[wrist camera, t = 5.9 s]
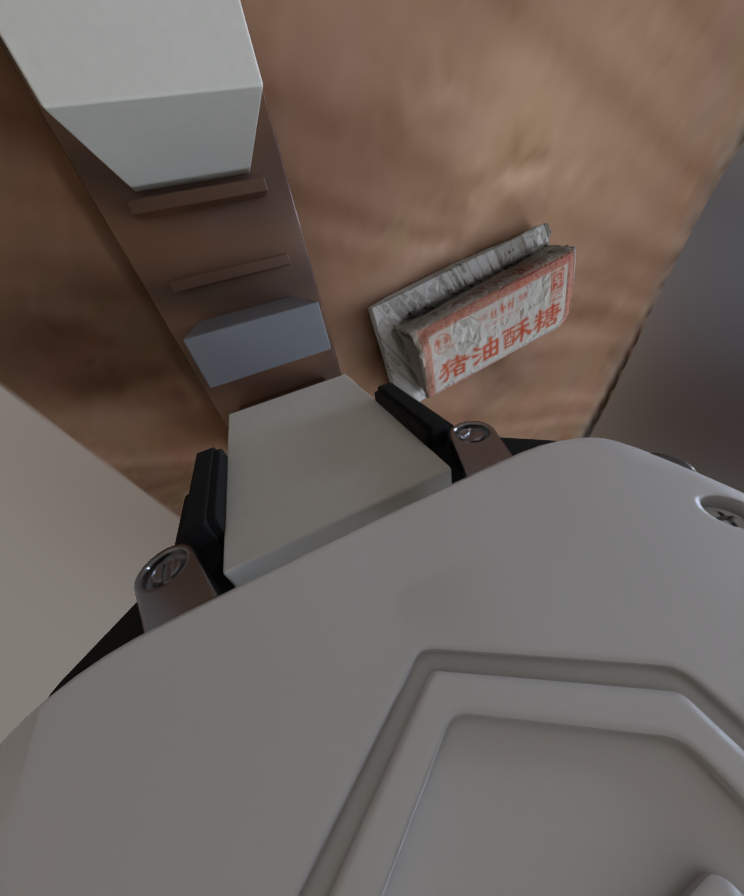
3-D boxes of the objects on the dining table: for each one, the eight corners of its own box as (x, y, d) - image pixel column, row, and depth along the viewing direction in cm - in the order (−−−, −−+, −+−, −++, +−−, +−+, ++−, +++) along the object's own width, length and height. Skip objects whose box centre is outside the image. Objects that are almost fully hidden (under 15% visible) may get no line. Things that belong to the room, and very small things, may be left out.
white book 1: (106, 137, 13) (-36, -25, 6) (233, 121, 15) (232, -28, 8) (135, 192, 15) (41, 108, 7) (250, 173, 16) (264, 85, 9)
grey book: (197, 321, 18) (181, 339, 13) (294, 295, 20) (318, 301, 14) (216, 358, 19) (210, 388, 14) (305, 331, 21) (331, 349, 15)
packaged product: (591, 210, 21) (576, 338, 27) (536, 221, 25) (533, 331, 31) (388, 311, 19) (420, 427, 25) (362, 305, 23) (395, 407, 29)
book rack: (-36, -30, 11) (-88, -88, 9) (224, -31, 13) (223, -80, 11) (245, 454, 25) (246, 467, 23) (349, 413, 27) (357, 423, 25)
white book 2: (228, 413, 13) (221, 574, 6) (345, 373, 14) (452, 467, 7) (247, 447, 14) (260, 614, 7) (354, 407, 16) (454, 516, 9)
